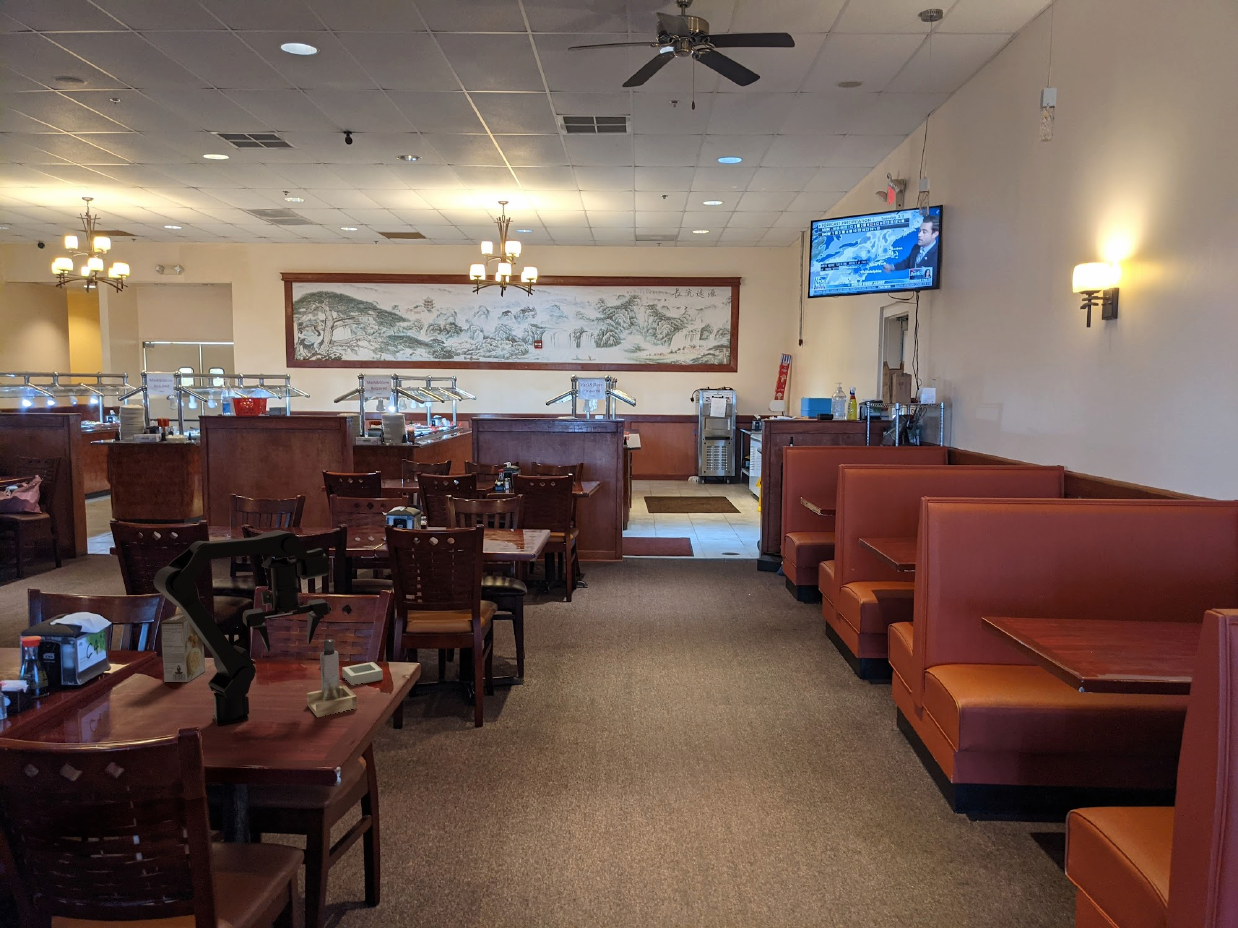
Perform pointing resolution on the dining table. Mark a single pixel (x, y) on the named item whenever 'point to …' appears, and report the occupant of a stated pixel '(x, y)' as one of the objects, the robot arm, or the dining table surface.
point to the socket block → (362, 673)
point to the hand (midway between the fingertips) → (289, 647)
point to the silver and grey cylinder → (329, 672)
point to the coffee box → (181, 650)
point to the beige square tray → (332, 702)
